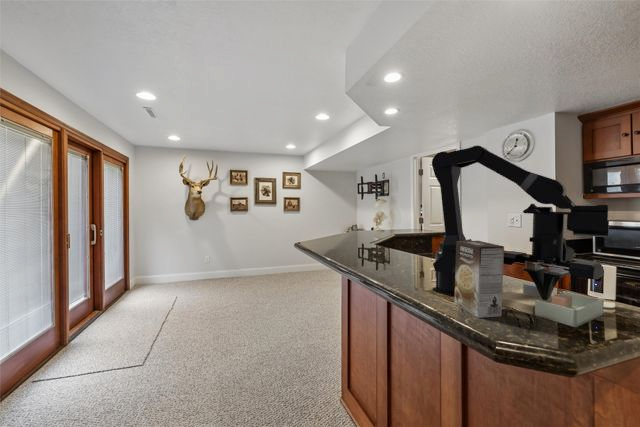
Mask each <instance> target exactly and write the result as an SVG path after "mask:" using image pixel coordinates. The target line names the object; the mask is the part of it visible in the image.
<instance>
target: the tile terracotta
mask: <svg viewBox="0 0 640 427" xmlns="http://www.w3.org/2000/svg"><path fill="white" fill-rule="evenodd" d="M552 304H555V305H559V306H563V307H567V308H571V309H572V296H569V295H565V294H563V293H556V294H553V296H552Z"/></svg>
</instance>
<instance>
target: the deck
mask: <svg viewBox="0 0 640 427" xmlns="http://www.w3.org/2000/svg"><path fill="white" fill-rule="evenodd" d="M553 295H554V294H552V293H551V295H550V297H549V299H548V300H547V301H546V300H542V298H538V297H534V296H530V295H526V294H523V287H520V288H517V289H512V290H508V291H505V292H502V307H505V306H506V307H505V308H509V307H510V308H509V309H512V308H513V310H515V309H516V311H519V312H523V313H525V314H526V313H527V314H528V315H535V300H540V301H544V302H547V303H550V302H552V296H553Z"/></svg>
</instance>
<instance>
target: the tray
mask: <svg viewBox="0 0 640 427" xmlns="http://www.w3.org/2000/svg"><path fill="white" fill-rule="evenodd" d="M562 294H565V295H569V296H572V309H571V308H567V307H563V306H559V305H555V304H552V302H550V303H547V302H544V301H540V300H535V314H534V316H536V317H539V316H540V317H539V318H542V317H544V319H546V318H547V319H546V320H549V321H553V322H556V323H559V324H563V325H566V326H569V327H573V328H578V327H580V326H582V325H584V324H587V323H589V322H591V321H593V320H595V319H597V318H599V317H601V316H603V315H604V302H605V300H604V299H602V298H597V297H592V296H588V295H584V294H579V293H575V292H569V291H564V290H563V291H562Z"/></svg>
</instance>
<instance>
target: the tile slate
mask: <svg viewBox="0 0 640 427" xmlns="http://www.w3.org/2000/svg"><path fill="white" fill-rule="evenodd" d="M522 286H523V287H522V288H523V294H526V295H530V296H534V297H538V298H541V296H540V294H539V292H538V290H537V287H536V285H535V283H534V282H533V281H530V282H526V283H523V284H522Z"/></svg>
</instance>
